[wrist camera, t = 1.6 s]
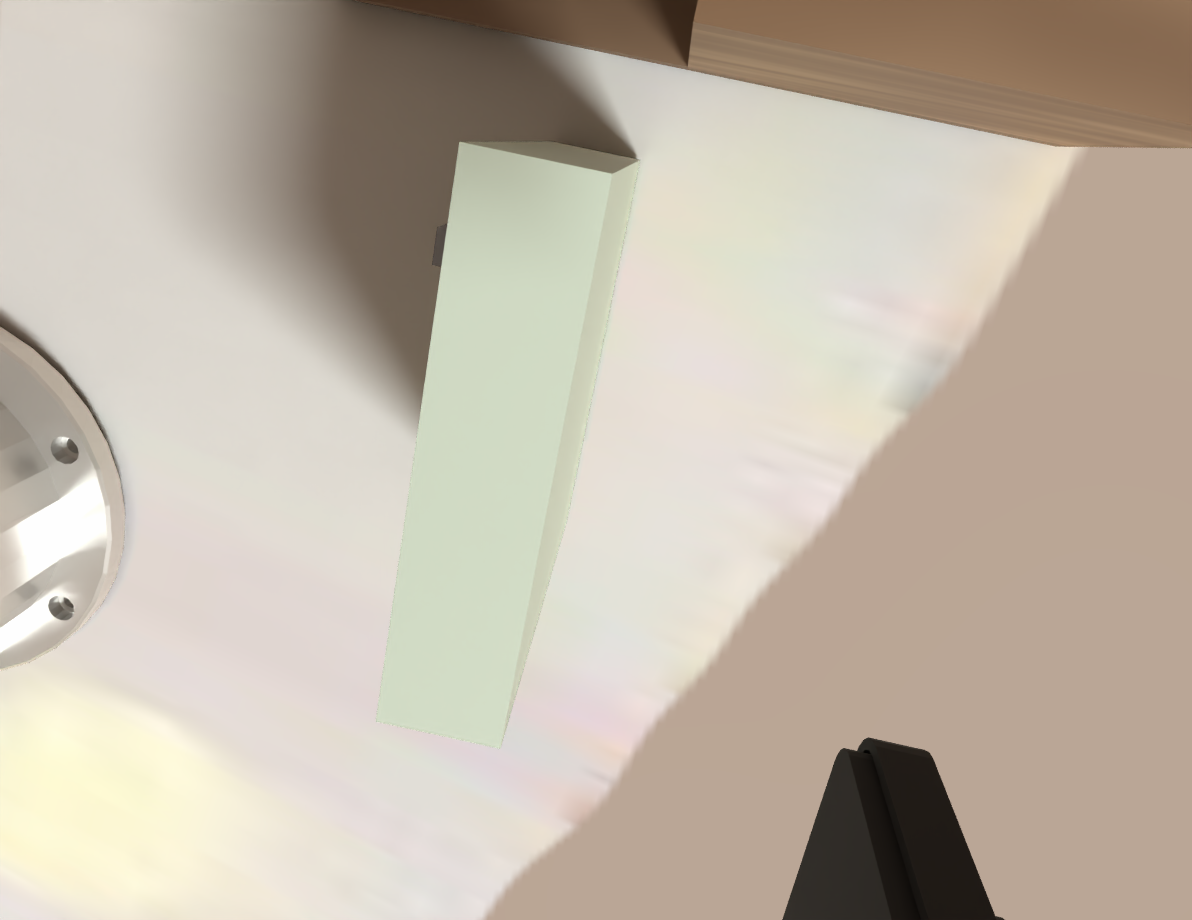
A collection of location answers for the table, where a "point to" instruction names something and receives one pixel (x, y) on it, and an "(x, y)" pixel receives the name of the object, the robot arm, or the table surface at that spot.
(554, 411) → the door
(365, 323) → the table surface
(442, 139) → the table surface
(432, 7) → the cabinet
